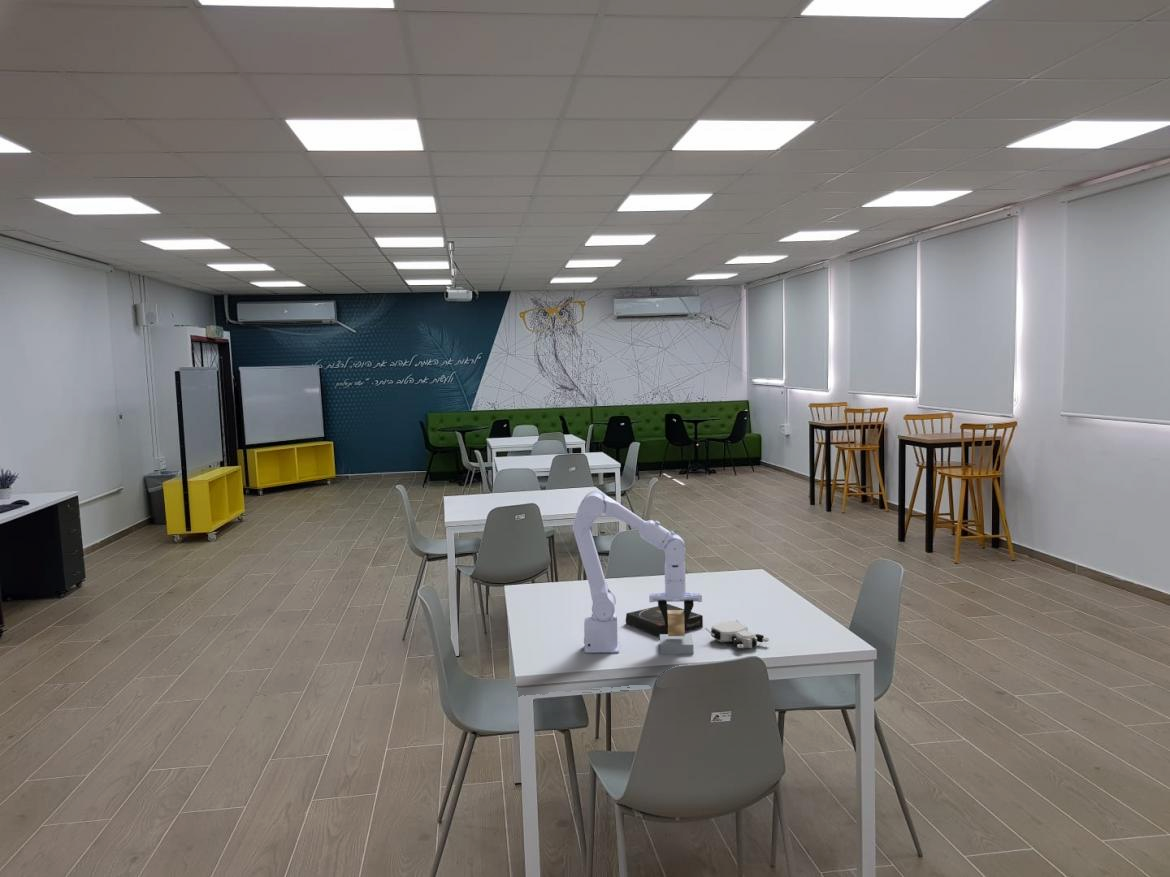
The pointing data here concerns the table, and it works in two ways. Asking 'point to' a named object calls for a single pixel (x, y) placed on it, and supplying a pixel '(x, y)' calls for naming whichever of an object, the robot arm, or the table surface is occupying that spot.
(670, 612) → the oak block
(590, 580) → the robot arm
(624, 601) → the table surface
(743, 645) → the robot toy
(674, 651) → the slate base
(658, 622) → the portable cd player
